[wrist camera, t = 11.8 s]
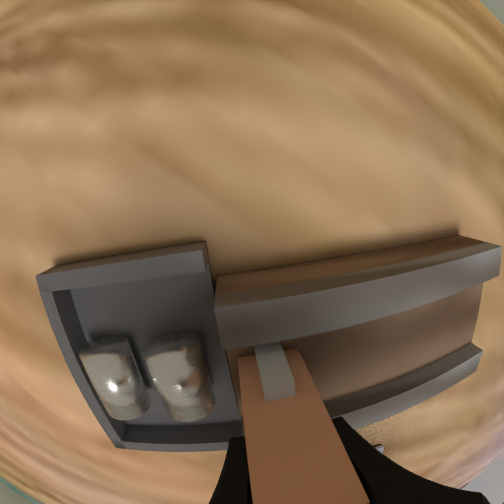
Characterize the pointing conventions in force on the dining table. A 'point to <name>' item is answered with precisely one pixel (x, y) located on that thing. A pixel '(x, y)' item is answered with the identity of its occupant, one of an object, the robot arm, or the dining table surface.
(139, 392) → the chip
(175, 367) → the chip
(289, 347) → the slot board
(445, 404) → the dining table surface
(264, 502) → the brown block with knob
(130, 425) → the tray
